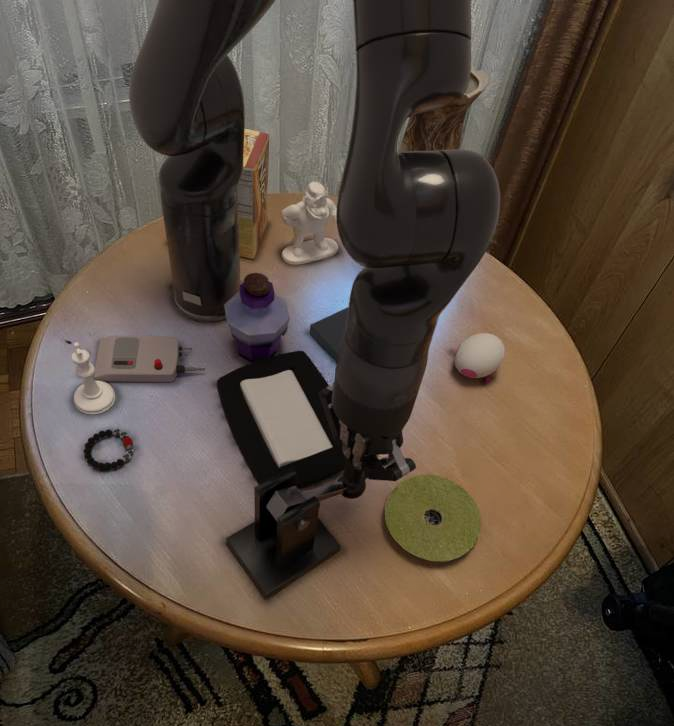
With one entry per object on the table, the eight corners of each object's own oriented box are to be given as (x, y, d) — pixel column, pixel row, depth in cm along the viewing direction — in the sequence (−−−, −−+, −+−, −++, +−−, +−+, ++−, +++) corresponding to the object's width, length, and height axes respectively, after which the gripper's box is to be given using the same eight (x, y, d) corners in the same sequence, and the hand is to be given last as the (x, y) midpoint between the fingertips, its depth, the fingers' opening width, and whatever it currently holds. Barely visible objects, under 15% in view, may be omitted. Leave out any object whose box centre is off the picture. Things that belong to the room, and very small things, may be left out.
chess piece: (80, 419, 80) (59, 365, 71) (69, 390, 82) (48, 335, 74) (120, 407, 81) (104, 353, 73) (108, 378, 83) (92, 323, 75)
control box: (309, 333, 91) (311, 315, 88) (359, 309, 95) (362, 291, 92) (361, 389, 87) (365, 372, 84) (412, 362, 90) (417, 345, 87)
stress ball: (473, 364, 96) (464, 322, 92) (519, 370, 90) (511, 326, 86) (440, 388, 92) (429, 345, 89) (485, 396, 86) (476, 351, 83)
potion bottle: (300, 356, 89) (306, 290, 79) (246, 381, 85) (244, 315, 76) (267, 316, 92) (268, 248, 82) (213, 339, 89) (207, 270, 79)
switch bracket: (299, 499, 77) (305, 443, 67) (340, 550, 73) (352, 499, 64) (226, 543, 73) (220, 490, 63) (266, 599, 69) (267, 553, 60)
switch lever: (345, 481, 75) (358, 462, 73) (362, 501, 73) (376, 482, 72) (260, 505, 65) (273, 484, 63) (279, 529, 64) (292, 508, 62)
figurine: (293, 275, 98) (297, 206, 88) (275, 248, 101) (277, 178, 91) (347, 261, 101) (356, 192, 91) (328, 234, 104) (335, 166, 94)
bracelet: (140, 462, 77) (139, 457, 76) (91, 478, 75) (89, 474, 74) (126, 426, 80) (124, 421, 79) (79, 441, 78) (77, 436, 77)
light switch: (206, 371, 83) (306, 337, 86) (209, 385, 86) (306, 351, 89) (262, 497, 74) (372, 454, 77) (264, 508, 76) (370, 466, 80)
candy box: (242, 219, 104) (240, 126, 91) (268, 224, 103) (270, 132, 91) (228, 255, 99) (224, 162, 86) (255, 260, 99) (255, 168, 86)
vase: (352, 276, 99) (384, 72, 74) (390, 242, 104) (431, 41, 79) (410, 308, 96) (464, 108, 71) (445, 271, 101) (506, 73, 77)
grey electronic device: (87, 343, 86) (82, 327, 84) (207, 344, 88) (205, 329, 86) (79, 382, 83) (74, 366, 80) (205, 382, 85) (203, 367, 82)
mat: (362, 512, 76) (364, 504, 75) (432, 467, 81) (435, 458, 79) (426, 586, 72) (429, 580, 70) (496, 534, 77) (501, 526, 75)
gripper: (461, 404, 55) (419, 503, 70) (365, 309, 61) (345, 419, 75) (394, 444, 52) (365, 539, 67) (299, 340, 58) (291, 449, 72)
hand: (354, 475), depth 71 cm, fingers closed
